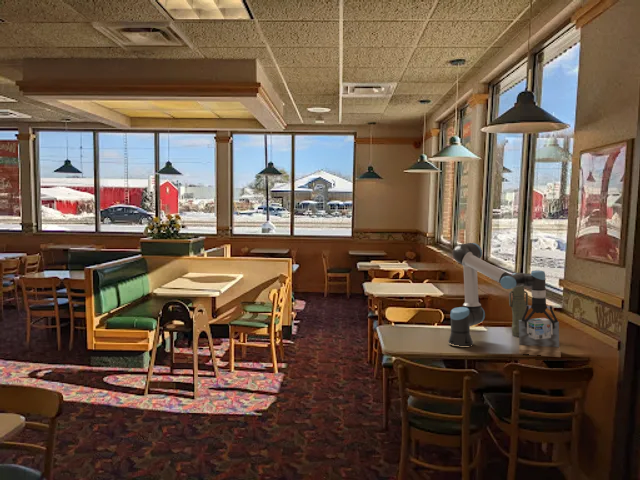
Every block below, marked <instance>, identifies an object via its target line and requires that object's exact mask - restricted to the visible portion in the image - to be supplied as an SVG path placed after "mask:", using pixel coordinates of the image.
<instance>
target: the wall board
mask: <svg viewBox="0 0 640 480" xmlns="http://www.w3.org/2000/svg"><path fill="white" fill-rule="evenodd" d="M527 322H528V321H527ZM551 323H552V322H551ZM554 326H555V328H554V329H552V332H553V335H551V338H546V339H533V338H530V337H529V334H527V328H525V322H524V321H522V320H519V337H518V341H519V342H518V345H519V347H518V348H519V350H518V351H519V352H518V353H519V355H523V354H529V355H528V356H537V355H541V356H540V357H553V358H554V357H555V358H561V357H562V356H561V354H562V353H561V352H562V351H561V348H560V321H558V322H556V323H555V324H554Z"/></svg>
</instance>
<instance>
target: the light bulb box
mask: <svg viewBox="0 0 640 480" xmlns="http://www.w3.org/2000/svg"><path fill="white" fill-rule="evenodd" d="M528 326H529V337H530V338H533V339H546V338H551V321H550V320H549V318H546V317H539V318H538V317H537V318H530V319H529V320H528Z"/></svg>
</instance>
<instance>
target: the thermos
mask: <svg viewBox="0 0 640 480" xmlns="http://www.w3.org/2000/svg"><path fill="white" fill-rule="evenodd" d="M508 304H509V307H511V311H512V312H511V313H512V324H511V333H512V334H511V335H512V337H514V338H519V320H522V317H523V315H524V312H525V310H526V305H529V293H528V292H527V291H526V290H525V286H520V287H516V288H512V289H511V291H509V293H508Z"/></svg>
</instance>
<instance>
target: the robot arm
mask: <svg viewBox="0 0 640 480" xmlns="http://www.w3.org/2000/svg"><path fill="white" fill-rule="evenodd" d="M451 253H452V258H453V259H454V260H455V261H456V262H457V263H458V264H460V265H461V266H462V269H463V286H464V287H463V288H464V303H463V304H462V306H459V307H454V308H452V309H451V310H450V314H449V318H450V334H449V339H448V342H449V343H451V344H454V345H459V346H471V345H473V344H474V340H473V338H472V336H471V332H470V331H471V330H470V327H472V326H476V325H479V324H480V323H483V321H484V320H485V317H486V312H485V310H484V308H483V307H482V303H480V302H479V286H478V284H479V282H478V281H479V280H478V278H479V277H478V272H479V273H480V274H482V275H484V276H485V277H488V278H490V279H491V280H493V281H495V282H497V283H499V284H500V286H501V287H502V288H503V289H505V290H512V288H516V287H520V286H524V287H530V288H531V305H529V304H528V305H526V310H525V312H524V315H523V317H522V321H524V322H525V328H527V334H529V326H528V322H527V321H528V320H529V319H532V317H533V316H534V315H535V313H536V314H544V315H545V316H546V317H547V319H549V320H550V321H551V322H552V323H551V335H553V332H552V329H554V328H555V326H554V324H555V323H556V322H559V321H558V318H557V316H556V315H555V312H554V310H553V306H552V305H547V301H546V300H547V298H546V296H547V295H546V294H547V292H546V288H547V287H546V279H547V278H546V272H545V271H544V270H532V271H530V273H525V272H513V273H512V274H511V273H509V272H507V271H505V270H503V269H500V268H499V267H497V266H495V265H494V264H491V263H489V262H487V261H485V260H483V259H481V257H483V250H482V247H481V246H480V245H479V244H477V243H476V242H475V243H474V242H468V243H467V242H466V243H459V244H457V245H455V246H454V248H453V249H452V252H451ZM530 309H532V311H531V312H530V313H529V314H528V312H529V310H530ZM547 309H548V310H549V311H550V314H552V315H550V314H549V313H548V312H547V311H546V310H547ZM527 314H528V316H527ZM551 316H552V317H551ZM473 346H474V345H473ZM471 347H472V346H471Z"/></svg>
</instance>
